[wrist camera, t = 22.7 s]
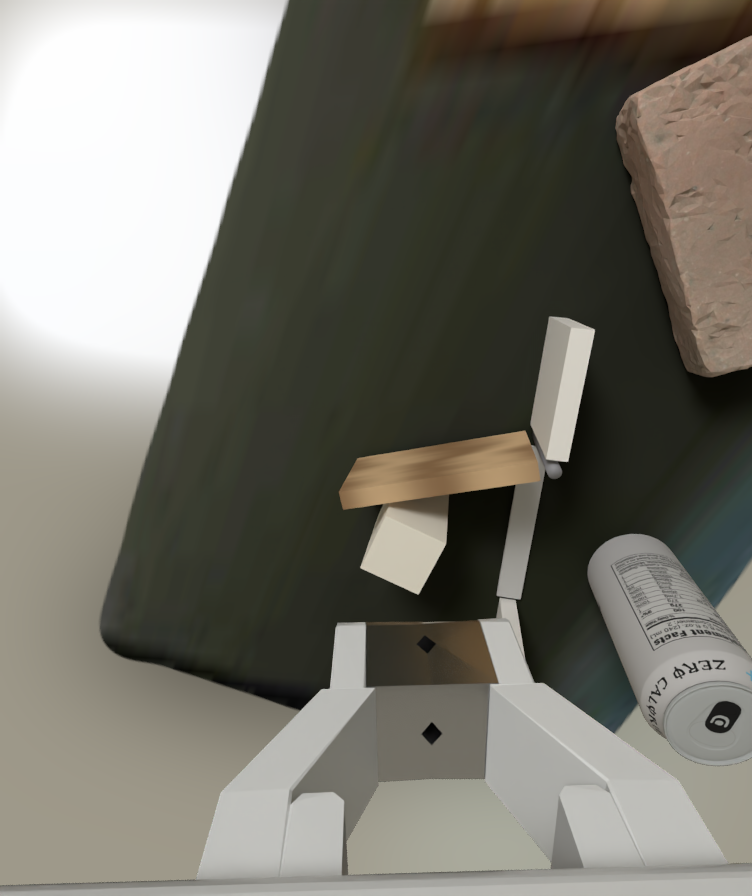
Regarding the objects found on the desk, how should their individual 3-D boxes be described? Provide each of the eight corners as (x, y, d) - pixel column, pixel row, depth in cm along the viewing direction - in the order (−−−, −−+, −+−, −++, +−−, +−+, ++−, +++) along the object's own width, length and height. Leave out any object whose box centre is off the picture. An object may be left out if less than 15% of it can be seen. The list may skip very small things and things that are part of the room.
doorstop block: (399, 470, 40) (385, 515, 33) (449, 492, 40) (446, 543, 33) (378, 514, 42) (360, 567, 34) (426, 536, 42) (418, 594, 34)
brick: (823, 326, 33) (878, 333, 29) (680, 376, 36) (711, 390, 31) (760, 41, 30) (812, -1, 25) (605, 115, 32) (628, 89, 27)
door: (525, 430, 37) (537, 461, 31) (529, 460, 38) (542, 496, 32) (357, 458, 40) (338, 492, 34) (364, 485, 40) (346, 524, 34)
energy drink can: (572, 586, 41) (629, 752, 27) (603, 517, 39) (683, 657, 25) (651, 610, 41) (751, 791, 26) (686, 542, 39) (816, 698, 24)
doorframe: (544, 316, 35) (565, 327, 28) (573, 318, 35) (601, 330, 28) (483, 666, 44) (487, 741, 37) (506, 670, 44) (514, 746, 37)
